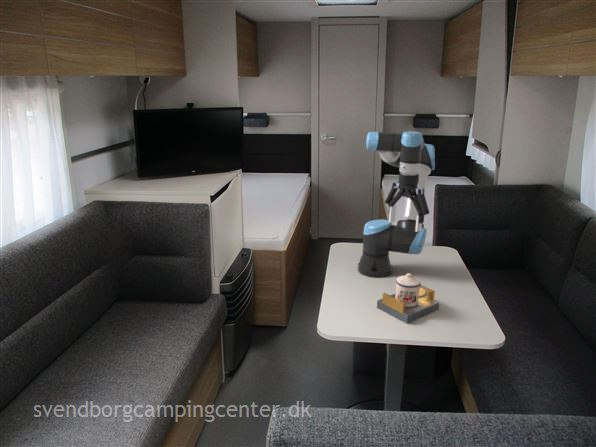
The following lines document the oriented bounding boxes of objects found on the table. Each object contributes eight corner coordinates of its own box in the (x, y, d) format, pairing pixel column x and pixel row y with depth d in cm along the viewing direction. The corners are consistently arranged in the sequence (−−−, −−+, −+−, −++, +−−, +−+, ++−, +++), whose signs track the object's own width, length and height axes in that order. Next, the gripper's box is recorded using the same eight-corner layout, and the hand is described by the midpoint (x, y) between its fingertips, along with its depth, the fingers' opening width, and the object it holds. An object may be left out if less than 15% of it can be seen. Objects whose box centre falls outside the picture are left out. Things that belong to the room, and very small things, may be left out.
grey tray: (376, 307, 193) (378, 291, 191) (408, 295, 204) (409, 279, 202) (406, 323, 182) (408, 306, 180) (438, 309, 193) (440, 293, 190)
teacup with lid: (394, 306, 188) (396, 277, 185) (394, 295, 197) (396, 268, 193) (427, 309, 186) (430, 280, 182) (426, 298, 195) (428, 271, 191)
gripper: (378, 168, 198) (375, 219, 205) (429, 180, 179) (423, 236, 186) (391, 166, 202) (387, 216, 209) (442, 178, 183) (436, 233, 190)
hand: (404, 226), depth 197 cm, fingers open, 13 cm apart
